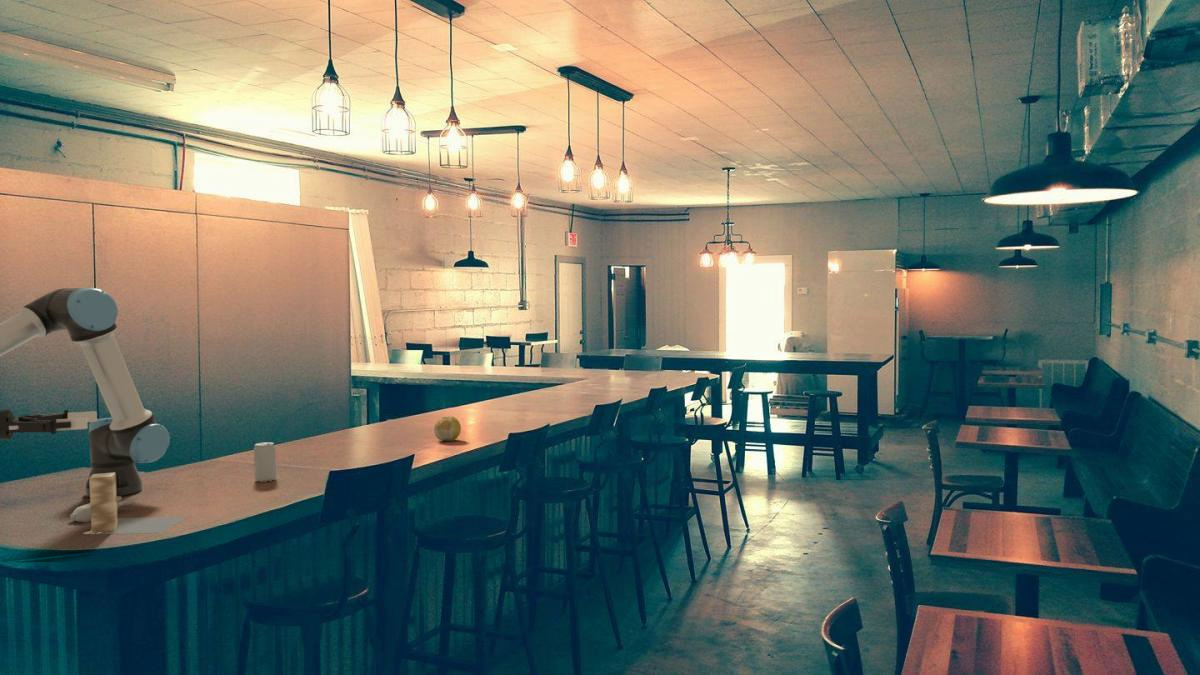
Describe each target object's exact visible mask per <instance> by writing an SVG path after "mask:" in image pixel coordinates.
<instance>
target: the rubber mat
mask: <svg viewBox="0 0 1200 675" xmlns="http://www.w3.org/2000/svg"><path fill="white" fill-rule="evenodd" d="M188 518H189V516H171V517H169V516H168V517H167V516H164V517H163V516H161V517H160V516H159V517H117V519H118V526H117V528H116V529H115V531H110V532H102V533H103V534H102V533H101V534H100V535H123V534H124V535H125V534H128V535H130V534H131V535H134V534H135V535H136V534H139V535H140V534H162V533H163V532H165V531H167V530H169V529H171V528H172V527H174V526H176V525H177V524H179V523H180V522H181V523H182V521H185V520H186V519H188Z"/></svg>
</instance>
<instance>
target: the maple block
mask: <svg viewBox="0 0 1200 675" xmlns="http://www.w3.org/2000/svg"><path fill="white" fill-rule="evenodd" d="M89 483H90V497H89V501H90V502H89V503H90V505H91V521H90V524H91V525H90V526H91V529H92V533H98V532H110V531H115V529H116V528H117V526H118V519H117V518H118V510H117V496H116V474H115V473H102V474H93V475H92V476H91V477H90V478H89Z"/></svg>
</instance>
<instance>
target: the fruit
mask: <svg viewBox="0 0 1200 675" xmlns="http://www.w3.org/2000/svg"><path fill="white" fill-rule="evenodd" d="M433 431H434V432H433V433H434V436H435V437H436V438H437V439H438V440H440V441H444V442H445V441H446V442H447V441H448V442H453V441H455V440H457V439H458V438H459V436H460V434H461V431H462V427H461V423H460V421H459V420H458V418H457V417H455V416H451V415H449V416H443V417H441V418H438V419H437V421H436V422H435V425H434V427H433Z"/></svg>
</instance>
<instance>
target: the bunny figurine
mask: <svg viewBox="0 0 1200 675" xmlns="http://www.w3.org/2000/svg"><path fill="white" fill-rule="evenodd" d="M116 497H117V511H118V510H119V507H121V506H128V505H129V506H130V505H132V504H135V503H136V501H135V497H134V498H133V497H132V498H126V499H124V500H122V496H116ZM69 517H70V521H73V522H79V523H81V522H82V523H88V522H91V505H90V502H89V503H87V504H83V505H80V506H78V507H76V508H75V509H74V510H73V512H72V513H71V514H70V515H69Z"/></svg>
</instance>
